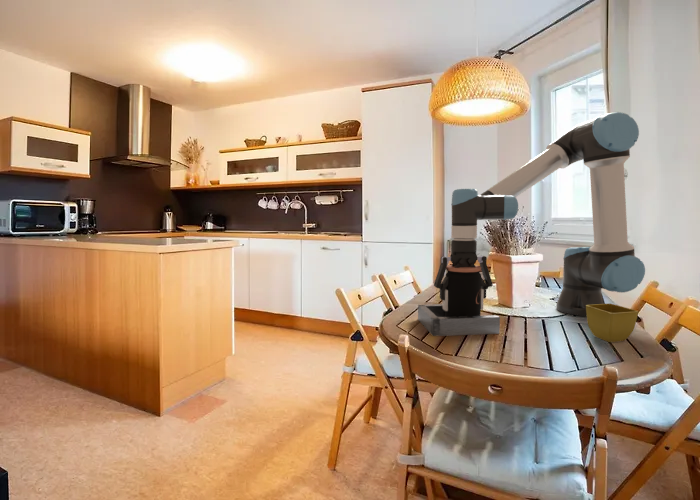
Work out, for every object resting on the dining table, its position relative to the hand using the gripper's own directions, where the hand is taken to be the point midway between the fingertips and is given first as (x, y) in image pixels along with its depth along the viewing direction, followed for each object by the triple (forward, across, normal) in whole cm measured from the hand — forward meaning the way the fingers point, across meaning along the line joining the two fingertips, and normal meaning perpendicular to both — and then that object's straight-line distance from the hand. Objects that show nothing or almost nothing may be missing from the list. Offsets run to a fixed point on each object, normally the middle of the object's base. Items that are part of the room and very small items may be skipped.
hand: (462, 309), depth 115 cm
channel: (+5, +2, 0) cm, 6 cm away
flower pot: (+6, -36, +16) cm, 40 cm away
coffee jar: (+5, 0, 0) cm, 5 cm away
